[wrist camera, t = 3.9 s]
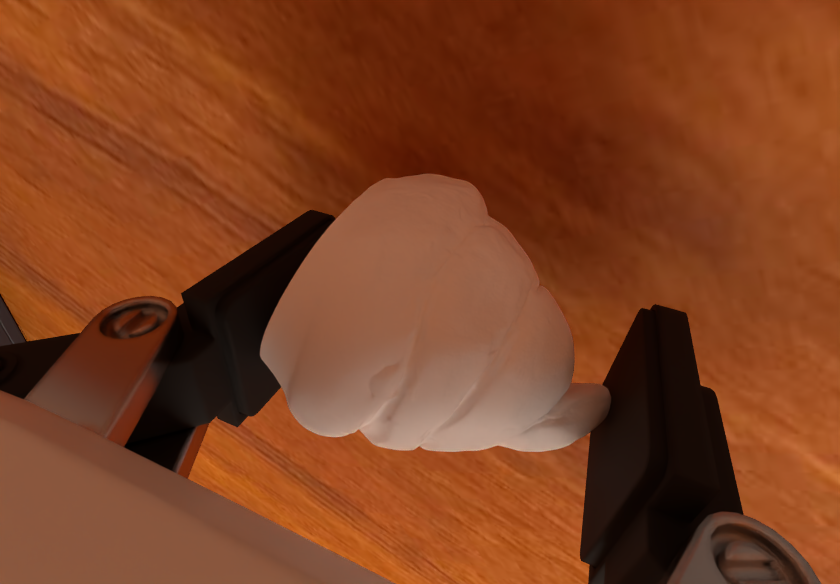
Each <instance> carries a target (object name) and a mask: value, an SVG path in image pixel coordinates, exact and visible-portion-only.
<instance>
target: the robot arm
mask: <svg viewBox="0 0 840 584" xmlns="http://www.w3.org/2000/svg"><path fill="white" fill-rule="evenodd" d="M335 220H336V219H335V217H334V216H333V215H329V214H325V213H322V212H318V211H315V210H309V211H307V212H306V213H304V214H303V215H301V216H300V217H298V218H296V219H295V220H293V221H292V222H290V223H289V224H287V225H286V226H284V227H283V228H281V229H280V230H278V231H276V232H275V233H273V234H272V235H270V236H269V237H267V238H266V239H264V240H263V241H261V242H260V243H258V244H256V245H255V246H253V247H252V248H250V249H249V250H247V251H246V252H244V253H243V254H241V255H240V256H238V257H236V258H235V259H233V260H232V261H230V262H229V263H227V264H226V265H224V266H223V267H221V268H220V269H218V270H216V271H215V272H213V273H212V274H210V275H209V276H207V277H206V278H204V279H203V280H201V281H200V282H198V283H196V284H195V285H193V286H192V287H190V288H189V289H187V290H186V291H184V292H183V293H181V295H182V298H183V301H184V303H183V304H182V305H180V306H179V307H177V308H176V306H175V305H174V304H173V303H172V302H171V301H170V300H167V299H165V298H162V297H155V296H143V297H135V298H130V299H126V300H123V301H120V302H117V303H115V304H112V305H111V306H109V307H107V308H105V309H103V310H102V311H101V312H100V313H98V314H97V315H96V316H95V317H94V318H93V319H92V320H91V321H90V323H89V324H88V325H87V326H86V327H85V328H84V329H83V331H82V332H81V333H77V334H71V335H65V336H59V337H53V338H47V339H41V340H35V341H29V342H23V343H17V344H10V345H4V346H0V584H395V583H393V582H391V581H389V580H387V579H385V578H383V577H381V576H379V575H378V574H376V573H374V572H372V571H370V570H368V569H366V568H364V567H362V566H360V565H358V564H356V563H354V562H352V561H350V560H348V559H346V558H344V557H342V556H340V555H338V554H336V553H334V552H332V551H330V550H328V549H326V548H324V547H322V546H320V545H318V544H316V543H314V542H312V541H310V540H308V539H306V538H304V537H302V536H300V535H298V534H296V533H294V532H292V531H290V530H288V529H286V528H284V527H282V526H280V525H278V524H276V523H274V522H272V521H270V520H268V519H266V518H264V517H262V516H260V515H258V514H256V513H255V512H253V511H251V510H249V509H247V508H245V507H243V506H241V505H239V504H237V503H235V502H233V501H231V500H229V499H227V498H225V497H223V496H221V495H219V494H217V493H215V492H213V491H211V490H209V489H207V488H205V487H203V486H201V485H199V484H197V483H195V482H193V481H191V480H189V479H188V476H189V474H190V471H191V469H192V466H193V464H194V461H195V459H196V456H197V453H198V451H199V448H200V446H201V443H202V441H203V438H204V436H205V433H206V431H207V428H208V425H209V423H210V422H211V421H212V420H213V419H214V418H215V417H216V416H217V418H218V419H220V420H222V421H224V422H227V423H229V424H231V425H233V426H236V427H238V426H239V425H240V424H241V423H242V422H243V421H244V420H245V419H246V418H247V417H248V416H254V415H256V414H257V413H258V412H259V411H260V410H261V409H262V407H263V406H264V405H265V404H266V403H267V402H268V401H269V400H270V399H271V398H272V396H273V395H274V394H275V393H276V392H277V391H278V390H279V389H280V388H281V385H280V384H279V382H278V380H277V379H276V377H275V376H274V374H273V373H272V372H271V370H270V369H269V368H268V366H267V365H266V364H265V363H264V362H263V360H262V359H261V357H260V348H261V347H260V346H261V342H262V339H263V336H264V333H265V330H266V328H267V326H268V323H269V321H270V319H271V316H272V315H273V312H274V310H275V308H276V306H277V304H278V303H279V300H280V299H281V297H282V295H283V293H284V292H285V290H286V288H287V287H288V285H289V283H290V281H291V280H292V278H293V276H294V275H295V273H296V272H297V270H298V269H299V267H300V265H301V264H302V262H303V261H304V259H305V258H306V256H307V255H308V253H309V252H310V251H311V249H312V248H313V246H314V245H315V244H316V242H317V241H318V240H319V239H320V237H321V236H322V235H323V234H324V233H325V231H326V230H327V229H328V227H329V226H330V225H331V224H332V223H333V222H334V221H335ZM602 385H603V386H605V387H606V388H607V389H608V390H609V393H610V395H611V404H610V409H609V412H608V414H607V416H606V418H605V419H604V420H603V421H602V422H601V423H600V424H599V425H598V426H597V427H596V428H595V429H593V430H592V431H591V433H590V445H589V456H588V468H587V479H586V491H585V502H584V514H583V525H582V537H581V548H580V559H581V561H583V562H585V563H587V564H590V567H589V582H588V584H821V583H820V581H819V579H818V578H817V576H816V575H815V573H814V571H813V570H812V568H811V567H810V565H809V563H808V562H807V561H806V560H805V559H804V558H803V557H802V556H801V554H800V553H799V552H798V551H797V550H796V549H795V548H794V547H793V546H792V545H791V544H790V543H789V542H788V541H786V540H785V539H784V538H783V537H782V536H780V535H779V534H778V533H777V532H775V531H774V530H773V529H771V528H769V527H768V526H766V525H764V524H762V523H761V522H759V521H757V520H756V519H753V518H750V517H748V516H745V515H743V511H742V506H741V502H740V497H739V493H738V488H737V484H736V480H735V475H734V471H733V466H732V462H731V458H730V453H729V449H728V444H727V440H726V435H725V431H724V427H723V422H722V418H721V413H720V409H719V405H718V400H717V397H716V394H715V392H714V391H713V390H712V389H710V388H707V387H704V386H701V385H700V380H699V375H698V369H697V364H696V359H695V354H694V349H693V343H692V338H691V333H690V328H689V322H688V317H687V314H686V313H685V312H682V311H678V310H674V309H671V308H667V307H663V306H660V305H656V304H655V305H653V306H652V308H651V309H650V310H647V309H644V308H641V309H640V310H639V312H638V314H637V316H636V318H635V320H634V322H633V324H632V326H631V328H630V330H629V332H628V334H627V336H626V338H625V340H624V342H623V344H622V346H621V348H620V350H619V352H618V354H617V356H616V358H615V360H614V362H613V364H612V366H611V368H610V370H609V372H608V374H607V376H606V378H605V380H604V382H603V384H602Z"/></svg>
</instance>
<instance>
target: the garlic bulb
mask: <svg viewBox="0 0 840 584" xmlns="http://www.w3.org/2000/svg"><path fill="white" fill-rule="evenodd" d="M539 283H540V282H539V279H538V275H537V273H536V271H535V269H534V267H533V264H532V262H531V260H530V258H529V257H528V256H527V254H526V253H525V251H524V250H523V249H522V247H521V246H520V245H519V243H518V242H517V240H516V239H515V238H514V236H513V235H512V234H511V232H510V231H509V230H508V229H507V228H506V227H505V226H504V225H503V224H501V223H500V222H498V221H496V220H494V219H493V218H491V217H490V216H489V215H488V211H487V207H486V205H485V201H484V199H483V197H482V195H481V194H480V192H479V191H478V190H477V188H476V187H475V186H474V185H472V184H471V183H469V182H468V181H464V180H460V179H454V178H450V177H446V176H443V175H437V174H421V175H415V176H405V177H401V178H385V179H382V180H380V181H379V182H377V183H375V184H373V185H372V186H371V187H369V188H368V189H367V190H366V191H365V192H363V193H362V194H361V196H359V197H358V198H356V199H355V200H354V201H353V202H352V203H351V204H350V205H349V206H348V207H347V208H346V209H345V210H344V211H343V212H342V213H341V214H340V215H339V216H338V217H337V219H336V220H335V221H334V222H333V223H332V224H331V225H330V226H329V227H328V229H327V230H326V231H325V233H324V234H323V235H322V236H321V237H320V239H319V240H318V241H317V242H316V244H315V245H314V246H313V248H312V249H311V251H310V252H309V253H308V255H307V256H306V258H305V259H304V261H303V262H302V264H301V265H300V267H299V269H298V270H297V272H296V273H295V275H294V276H293V278H292V280H291V281H290V283H289V285H288V287H287V288H286V290H285V292H284V293H283V295H282V297H281V299H280V300H279V303H278V304H277V306H276V308H275V310H274V312H273V315H272V316H271V319H270V321H269V323H268V326H267V328H266V330H265V333H264V336H263V339H262V342H261V346H260V347H261V348H260V357H261V359H262V360H263V362H264V363H265V364H266V365H267V366H268V368H269V369H270V370H271V372H272V373H273V374H274V376H275V377H276V379H277V380H278V382H279V384H280V385H281V387H282V389H283V391H284V393H285V395H286V399H287V404H288V407H289V409H290V411H291V413H292V414H293V416H294V417H295V418H296V420H297V421H298V422H299V423H300V424H301V425H302V426H303V427H305V428H306V429H308V430H310V431H311V432H313V433H315V434H318V435H322V436H327V437H342V436H346V435H348V434H350V433H355V432H356V431H357V430H358V429H360V431H361V432H362V433H363V434H364V435H365V436H366V438H367V439H368V440H369V441H370V442H371V443H373V444H374V445H376V446H379V447H383V448H388V449H393V450H414V449H416V448H417V447H418V446H420V447H421V448H423V449H425V450H431V451H446V452H458V451H479V450H482V449H488V448H491V447H494V446H497V445H499V446H503V447H507V448H511V449H514V450H518V451H526V452H543V451H550V450H555V449H559V448H563V447H566V446H568V445H570V444H572V443H573V442H574V441H576V440H577V439H579V438H581V437H584V436H585V435H587V434H588V433H590V432H591V431H592V430H593V429H595V428H596V427H597V426H598V425H599V424H600V423H601V422H602V421H603V420H604V419H605V418H606V416H607V414H608V412H609V409H610V404H611V395H610V393H609V390H608V389H607V388H606V387H605V386H603V385H600V384H595V383H571V380H572V376H573V371H574V344H573V338H572V334H571V331H570V328H569V325H568V323H567V321H566V319H565V317H564V315H563V313H562V311H561V309H560V307H559V306H558V304H557V302H556V301H555V299H554V298H553V297H552V295H551V293H550V292H549V291H548V289H546V288H545V287H544V286H539Z"/></svg>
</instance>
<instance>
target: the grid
mask: <svg viewBox="0 0 840 584" xmlns="http://www.w3.org/2000/svg"><path fill="white" fill-rule="evenodd" d="M23 342H26V341H25V339H24V338H23V336H22V334H21V332H20V330H19V329H18V327H17V325H16V323H15V321H14V320H13V318H12V316H11V314H10V313H9V311H8V309H7V307H6V305H5V304H4V302H3V300H2V298H1V296H0V346H4V345H10V344H17V343H23Z"/></svg>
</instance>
